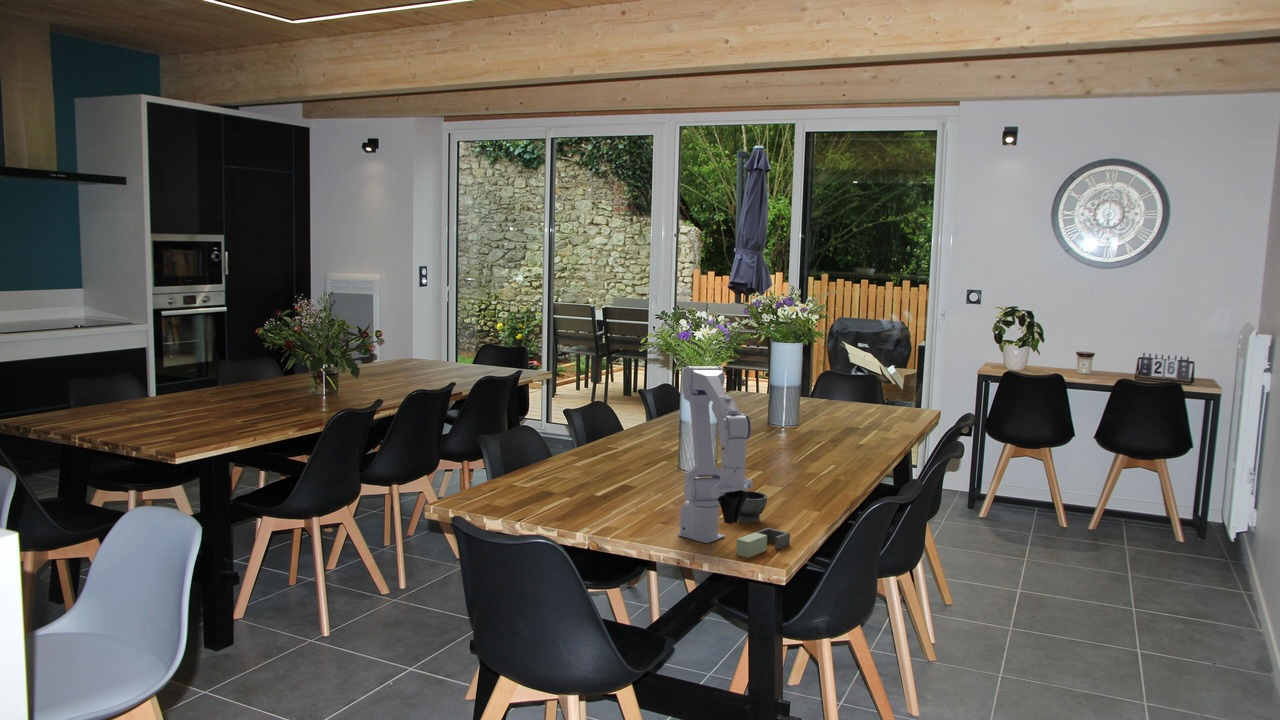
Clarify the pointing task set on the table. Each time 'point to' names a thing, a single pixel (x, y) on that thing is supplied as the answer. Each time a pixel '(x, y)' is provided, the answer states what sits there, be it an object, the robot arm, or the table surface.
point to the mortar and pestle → (752, 507)
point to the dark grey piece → (776, 537)
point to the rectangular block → (751, 544)
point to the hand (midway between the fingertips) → (730, 522)
